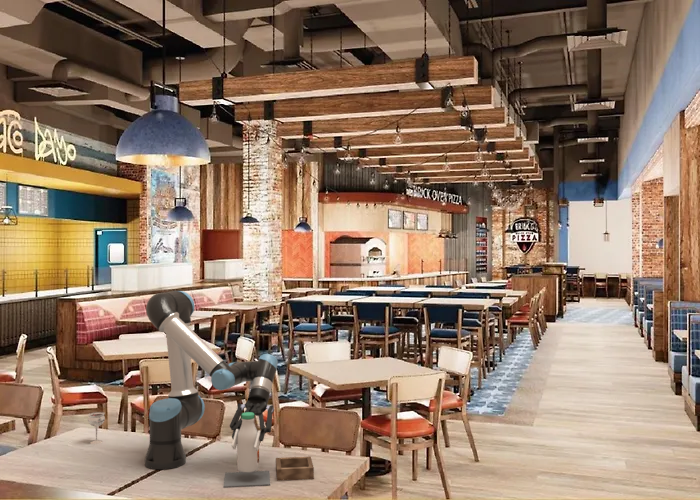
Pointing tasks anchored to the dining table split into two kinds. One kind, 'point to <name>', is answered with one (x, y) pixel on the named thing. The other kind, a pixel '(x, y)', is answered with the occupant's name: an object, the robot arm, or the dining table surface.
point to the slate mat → (246, 479)
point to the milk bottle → (247, 444)
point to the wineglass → (96, 422)
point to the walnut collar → (294, 468)
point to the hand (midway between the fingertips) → (244, 448)
